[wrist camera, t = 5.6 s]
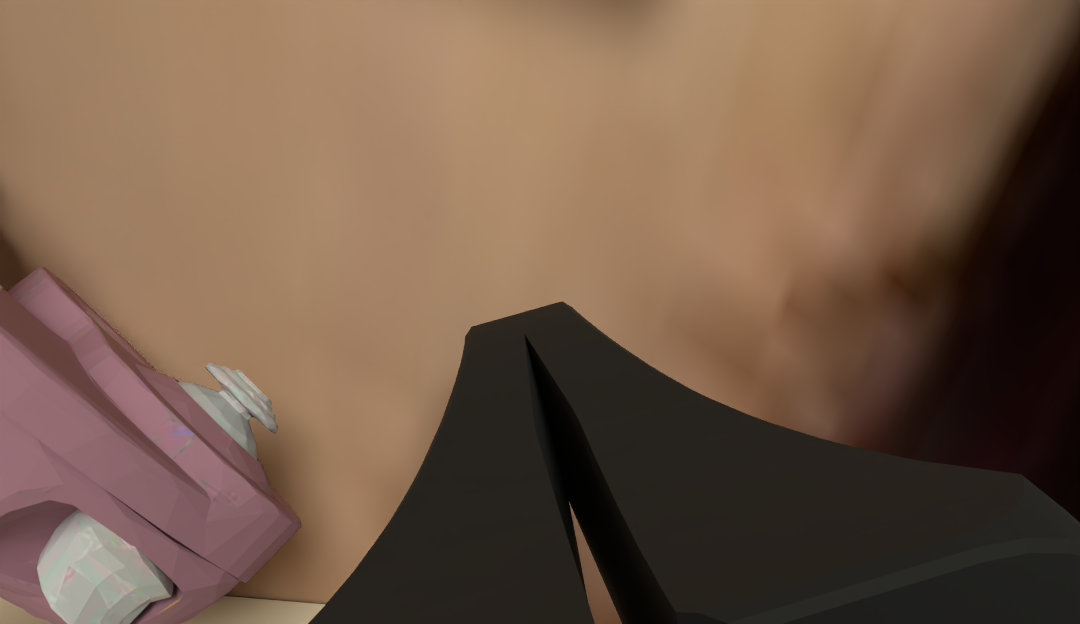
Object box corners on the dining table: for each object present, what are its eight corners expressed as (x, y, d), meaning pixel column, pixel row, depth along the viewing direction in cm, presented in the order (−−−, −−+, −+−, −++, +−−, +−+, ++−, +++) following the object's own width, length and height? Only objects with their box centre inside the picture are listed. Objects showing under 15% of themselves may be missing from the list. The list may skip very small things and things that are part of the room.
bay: (691, -272, 11) (773, -307, 9) (405, 648, 17) (410, 764, 15) (-883, -926, 7) (-1465, -1295, 5) (-503, 585, 13) (-676, 727, 11)
